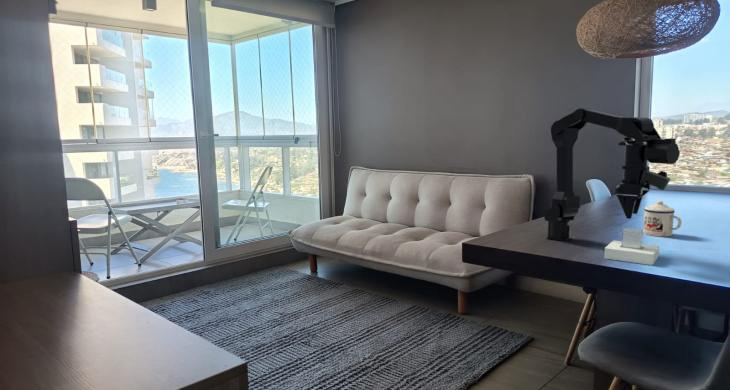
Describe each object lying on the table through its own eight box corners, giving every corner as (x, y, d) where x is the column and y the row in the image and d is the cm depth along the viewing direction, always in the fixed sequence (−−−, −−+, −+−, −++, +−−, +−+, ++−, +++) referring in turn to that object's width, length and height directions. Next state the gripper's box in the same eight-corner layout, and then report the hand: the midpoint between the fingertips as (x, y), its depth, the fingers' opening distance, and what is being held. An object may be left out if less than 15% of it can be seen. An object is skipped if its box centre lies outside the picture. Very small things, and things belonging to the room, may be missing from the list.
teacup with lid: (636, 233, 167) (639, 200, 166) (652, 230, 172) (654, 198, 170) (671, 239, 157) (674, 205, 155) (687, 236, 161) (690, 202, 159)
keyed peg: (638, 259, 134) (640, 231, 133) (620, 256, 137) (622, 229, 136) (641, 257, 137) (642, 229, 136) (623, 254, 140) (624, 228, 138)
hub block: (604, 258, 136) (604, 248, 135) (613, 249, 145) (613, 240, 145) (652, 265, 128) (653, 254, 128) (658, 255, 138) (659, 245, 137)
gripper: (664, 165, 122) (659, 224, 124) (673, 161, 136) (669, 214, 139) (616, 163, 129) (612, 219, 131) (630, 159, 143) (626, 210, 146)
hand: (631, 216), depth 136 cm, fingers open, 9 cm apart
